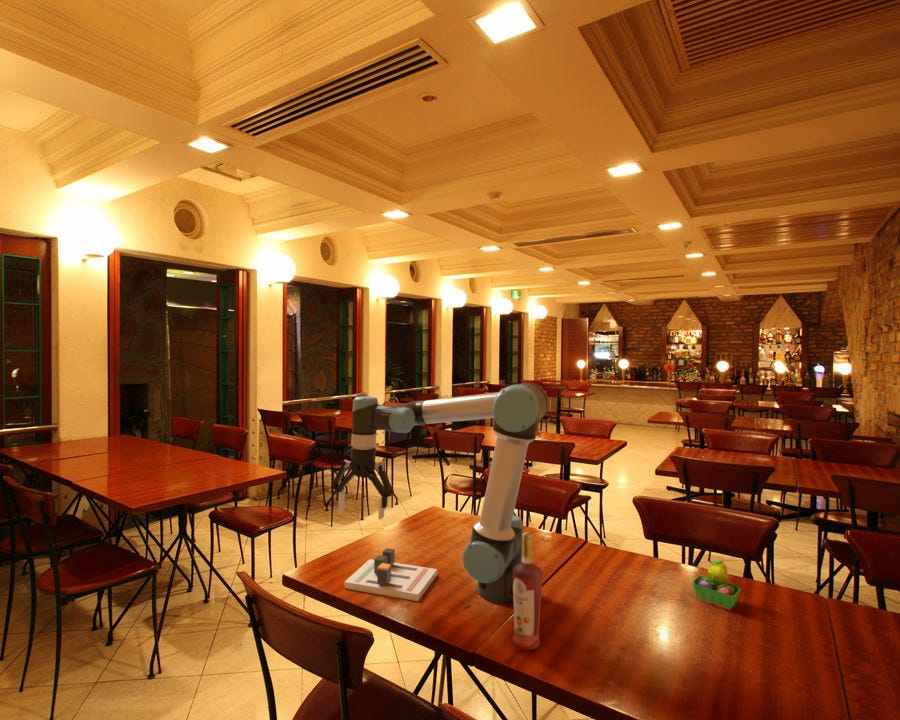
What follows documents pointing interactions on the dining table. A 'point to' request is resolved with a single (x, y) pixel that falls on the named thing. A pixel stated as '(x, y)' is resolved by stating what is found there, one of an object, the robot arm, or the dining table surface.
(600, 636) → the dining table surface
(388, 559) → the handle far
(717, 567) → the fruit basket
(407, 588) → the panel
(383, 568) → the handle
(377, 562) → the handle middle
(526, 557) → the liquor
